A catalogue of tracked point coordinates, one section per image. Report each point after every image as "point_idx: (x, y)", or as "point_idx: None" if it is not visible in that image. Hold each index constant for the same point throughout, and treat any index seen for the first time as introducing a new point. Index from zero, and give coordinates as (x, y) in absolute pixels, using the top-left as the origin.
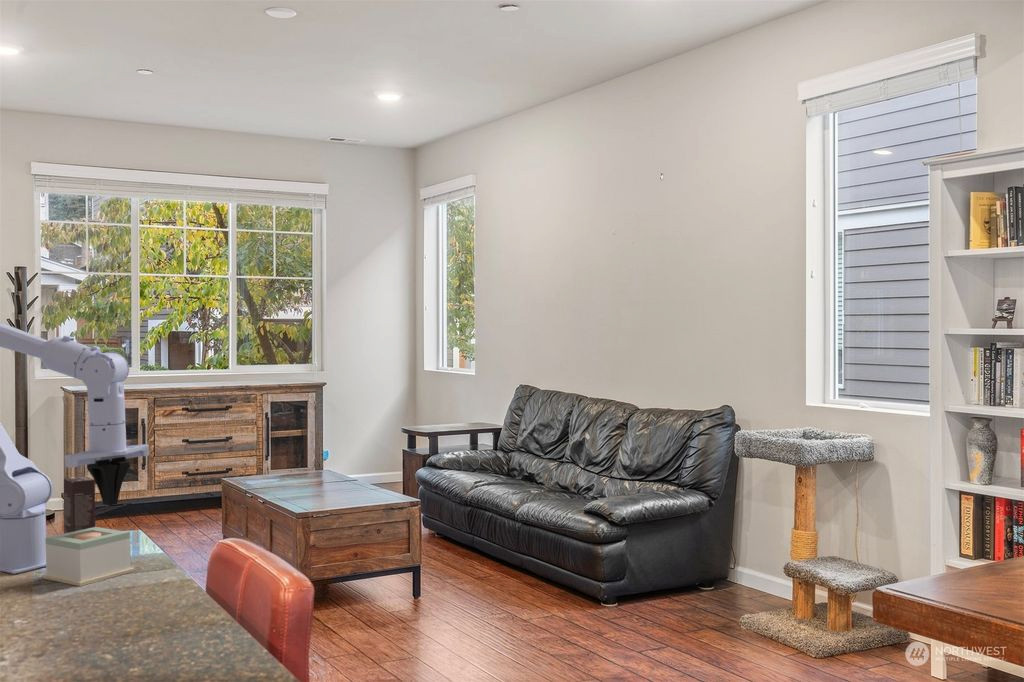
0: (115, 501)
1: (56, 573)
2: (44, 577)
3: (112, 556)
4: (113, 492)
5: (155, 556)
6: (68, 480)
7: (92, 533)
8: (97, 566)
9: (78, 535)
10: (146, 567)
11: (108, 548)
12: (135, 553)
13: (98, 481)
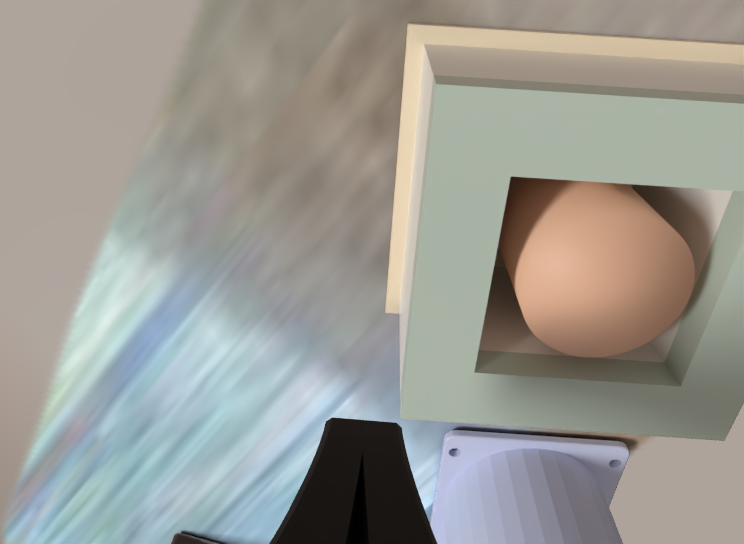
0: (349, 434)
1: None
2: None
3: (560, 66)
4: (381, 503)
5: (156, 180)
6: None
7: (557, 299)
8: (653, 67)
9: (631, 331)
10: (323, 33)
11: (606, 79)
12: (179, 305)
13: None
